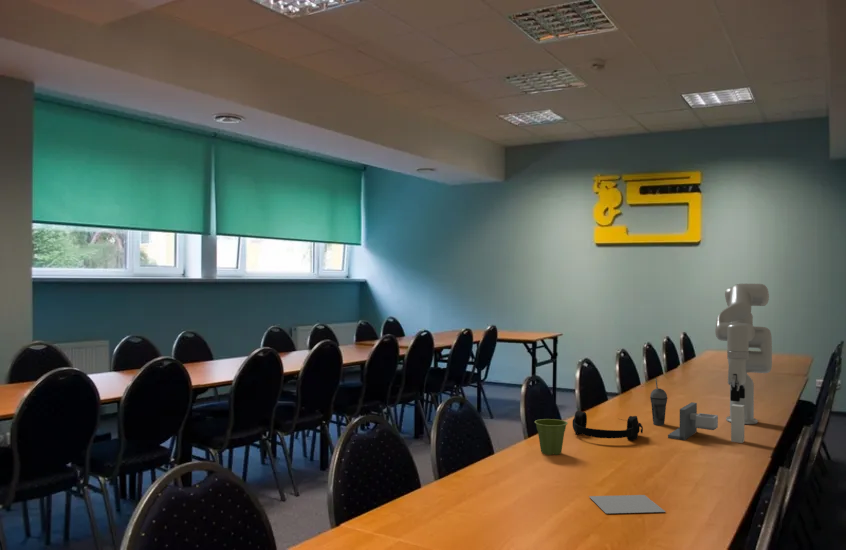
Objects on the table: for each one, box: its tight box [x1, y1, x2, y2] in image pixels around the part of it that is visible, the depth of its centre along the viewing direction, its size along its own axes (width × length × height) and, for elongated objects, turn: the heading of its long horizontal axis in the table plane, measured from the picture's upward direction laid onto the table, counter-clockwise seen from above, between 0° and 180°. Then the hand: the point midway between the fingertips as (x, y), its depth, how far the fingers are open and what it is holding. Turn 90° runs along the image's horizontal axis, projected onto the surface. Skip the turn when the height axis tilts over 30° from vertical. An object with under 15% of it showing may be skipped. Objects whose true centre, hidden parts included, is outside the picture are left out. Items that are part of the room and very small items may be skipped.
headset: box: [572, 410, 644, 441], centre depth 266 cm, size 28×26×9 cm
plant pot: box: [534, 418, 569, 456], centre depth 241 cm, size 12×12×11 cm
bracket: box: [667, 402, 719, 441], centre depth 266 cm, size 18×16×12 cm
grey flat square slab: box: [588, 494, 666, 514], centre depth 190 cm, size 23×25×1 cm
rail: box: [730, 404, 745, 444], centre depth 259 cm, size 4×4×14 cm
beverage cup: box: [649, 378, 669, 426], centre depth 289 cm, size 7×7×20 cm
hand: (737, 399), depth 258 cm, fingers open, 9 cm apart
